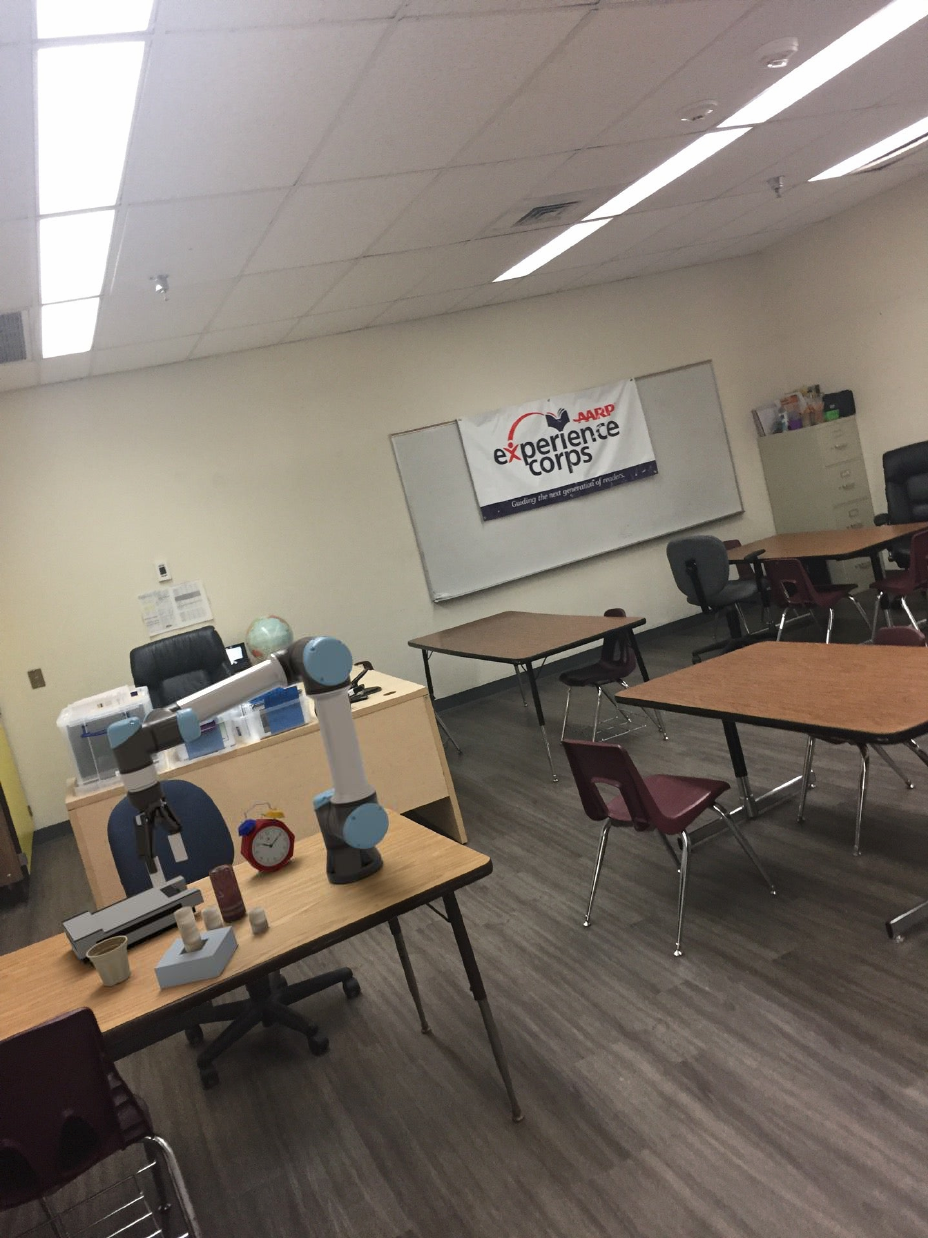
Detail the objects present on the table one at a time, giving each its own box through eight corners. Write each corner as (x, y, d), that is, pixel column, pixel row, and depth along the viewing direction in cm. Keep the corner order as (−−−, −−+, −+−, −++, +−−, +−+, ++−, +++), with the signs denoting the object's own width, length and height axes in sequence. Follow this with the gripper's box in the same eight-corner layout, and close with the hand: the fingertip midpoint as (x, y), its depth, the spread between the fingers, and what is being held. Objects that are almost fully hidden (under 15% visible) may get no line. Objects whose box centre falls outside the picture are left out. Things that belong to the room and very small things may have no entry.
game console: (208, 914, 245) (199, 886, 244) (85, 972, 228) (75, 942, 227) (186, 897, 263) (178, 870, 261) (71, 950, 246) (61, 921, 245)
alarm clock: (255, 881, 259) (234, 815, 257) (244, 875, 267) (224, 811, 264) (302, 859, 267) (283, 795, 264) (291, 854, 274) (272, 791, 272)
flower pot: (104, 975, 223) (93, 942, 222) (142, 964, 224) (131, 931, 222) (91, 995, 214) (80, 961, 213) (131, 983, 214) (120, 949, 213)
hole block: (237, 945, 220) (231, 925, 219) (219, 976, 206) (212, 955, 205) (182, 957, 221) (176, 938, 221) (160, 989, 207) (154, 968, 207)
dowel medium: (228, 933, 228) (219, 903, 227) (223, 941, 224) (214, 911, 223) (213, 937, 229) (204, 907, 228) (208, 944, 225) (198, 914, 224)
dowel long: (211, 960, 215) (193, 905, 214) (205, 969, 212) (187, 913, 210) (195, 963, 216) (177, 908, 214) (189, 972, 212) (171, 916, 210)
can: (241, 921, 234) (225, 870, 232) (219, 925, 235) (203, 874, 233) (251, 909, 239) (236, 860, 238) (229, 913, 241) (214, 864, 239)
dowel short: (271, 924, 227) (266, 905, 226) (264, 932, 223) (259, 913, 222) (256, 926, 228) (251, 907, 227) (249, 934, 224) (244, 915, 223)
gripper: (149, 772, 221) (175, 854, 223) (102, 809, 196) (133, 900, 199) (178, 765, 220) (204, 847, 223) (135, 801, 195) (166, 893, 198)
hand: (171, 872), depth 211 cm, fingers open, 13 cm apart
